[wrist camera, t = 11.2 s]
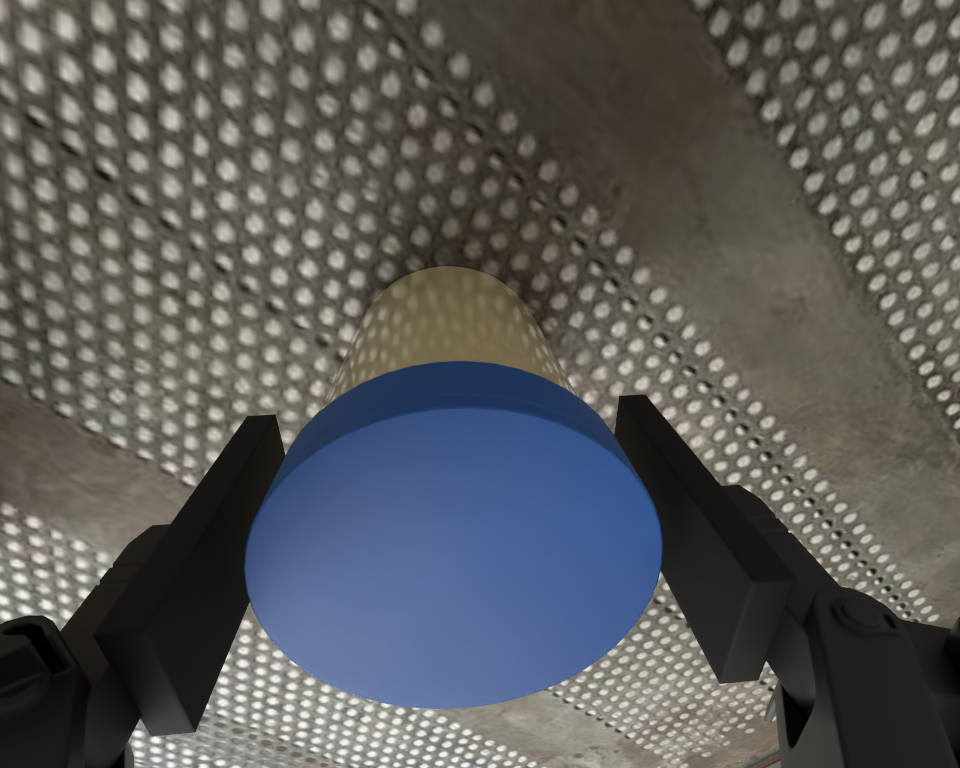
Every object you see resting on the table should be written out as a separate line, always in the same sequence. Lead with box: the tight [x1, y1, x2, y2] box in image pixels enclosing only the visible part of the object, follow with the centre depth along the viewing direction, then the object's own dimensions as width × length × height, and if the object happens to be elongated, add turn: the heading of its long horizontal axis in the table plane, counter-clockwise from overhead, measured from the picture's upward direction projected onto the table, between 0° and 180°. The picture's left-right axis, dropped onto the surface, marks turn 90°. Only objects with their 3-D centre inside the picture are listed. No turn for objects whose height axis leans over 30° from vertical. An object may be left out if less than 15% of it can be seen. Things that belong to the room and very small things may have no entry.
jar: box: [321, 266, 577, 410], centre depth 15 cm, size 8×8×11 cm
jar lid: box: [244, 361, 663, 709], centre depth 10 cm, size 8×8×2 cm
